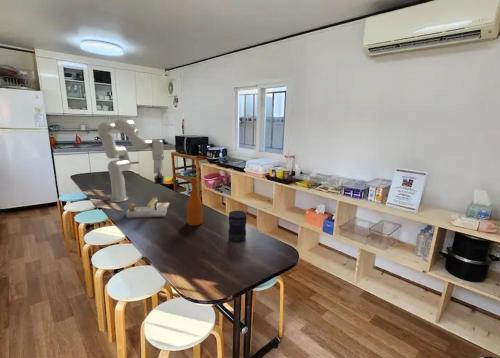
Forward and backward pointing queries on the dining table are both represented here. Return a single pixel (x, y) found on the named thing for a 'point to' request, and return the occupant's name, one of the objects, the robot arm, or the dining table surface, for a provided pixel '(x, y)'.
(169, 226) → the dining table surface
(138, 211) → the plane body
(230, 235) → the black camera lens
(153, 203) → the latch lever
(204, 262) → the dining table surface
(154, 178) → the dark grey block
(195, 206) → the wine bottle
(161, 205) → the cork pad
